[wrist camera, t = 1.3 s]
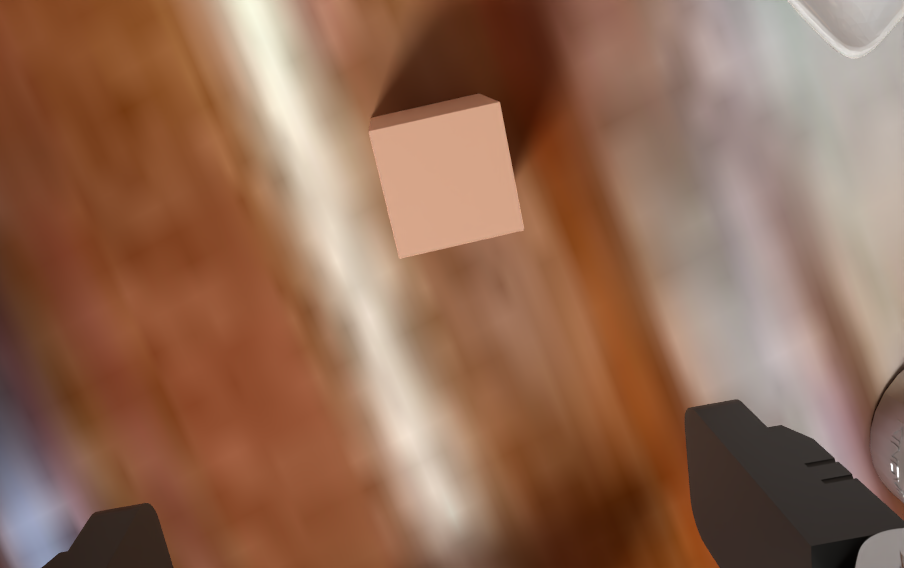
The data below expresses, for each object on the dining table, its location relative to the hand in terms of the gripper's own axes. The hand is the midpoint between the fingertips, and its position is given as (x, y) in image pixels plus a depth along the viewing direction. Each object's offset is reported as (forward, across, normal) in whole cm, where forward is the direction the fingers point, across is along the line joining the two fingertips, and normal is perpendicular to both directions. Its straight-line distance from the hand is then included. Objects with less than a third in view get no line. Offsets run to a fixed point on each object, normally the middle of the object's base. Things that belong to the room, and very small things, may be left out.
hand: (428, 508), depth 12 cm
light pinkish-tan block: (+22, -2, -2) cm, 23 cm away
